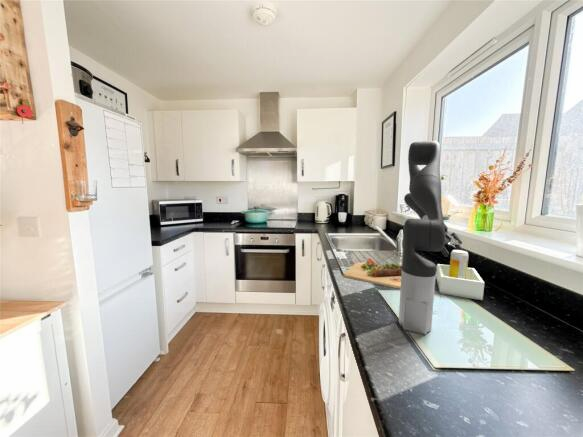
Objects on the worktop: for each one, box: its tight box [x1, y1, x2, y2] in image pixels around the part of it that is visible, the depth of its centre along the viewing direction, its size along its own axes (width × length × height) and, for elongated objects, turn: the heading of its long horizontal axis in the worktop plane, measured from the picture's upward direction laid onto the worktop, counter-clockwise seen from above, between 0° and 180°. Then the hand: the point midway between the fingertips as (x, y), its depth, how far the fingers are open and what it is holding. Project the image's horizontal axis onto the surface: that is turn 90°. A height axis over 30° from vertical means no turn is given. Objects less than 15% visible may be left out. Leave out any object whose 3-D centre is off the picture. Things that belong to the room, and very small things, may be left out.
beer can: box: [449, 249, 469, 279], centre depth 103 cm, size 6×6×15 cm
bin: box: [435, 263, 485, 301], centre depth 103 cm, size 18×14×7 cm
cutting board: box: [343, 257, 402, 290], centre depth 117 cm, size 35×23×8 cm
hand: (454, 254), depth 104 cm, fingers open, 8 cm apart
